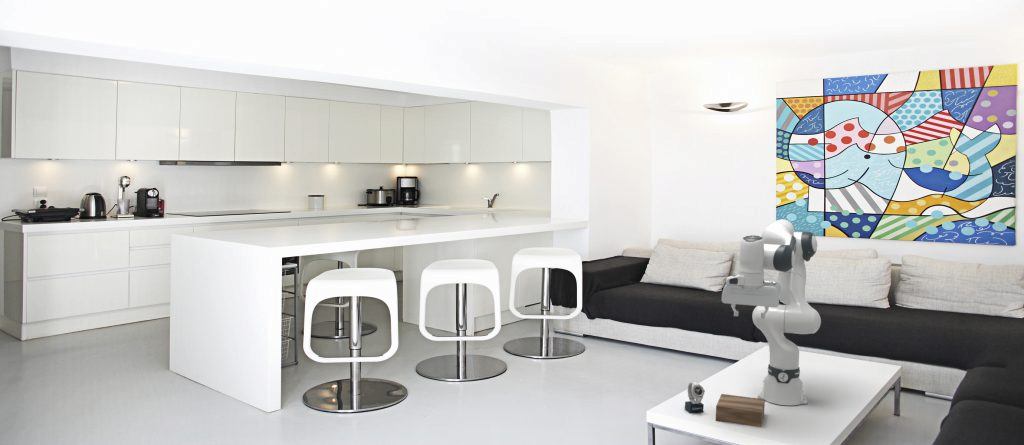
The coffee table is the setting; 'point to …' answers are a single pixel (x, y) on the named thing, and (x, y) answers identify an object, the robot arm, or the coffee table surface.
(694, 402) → the watch
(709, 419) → the coffee table surface
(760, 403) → the walnut box
